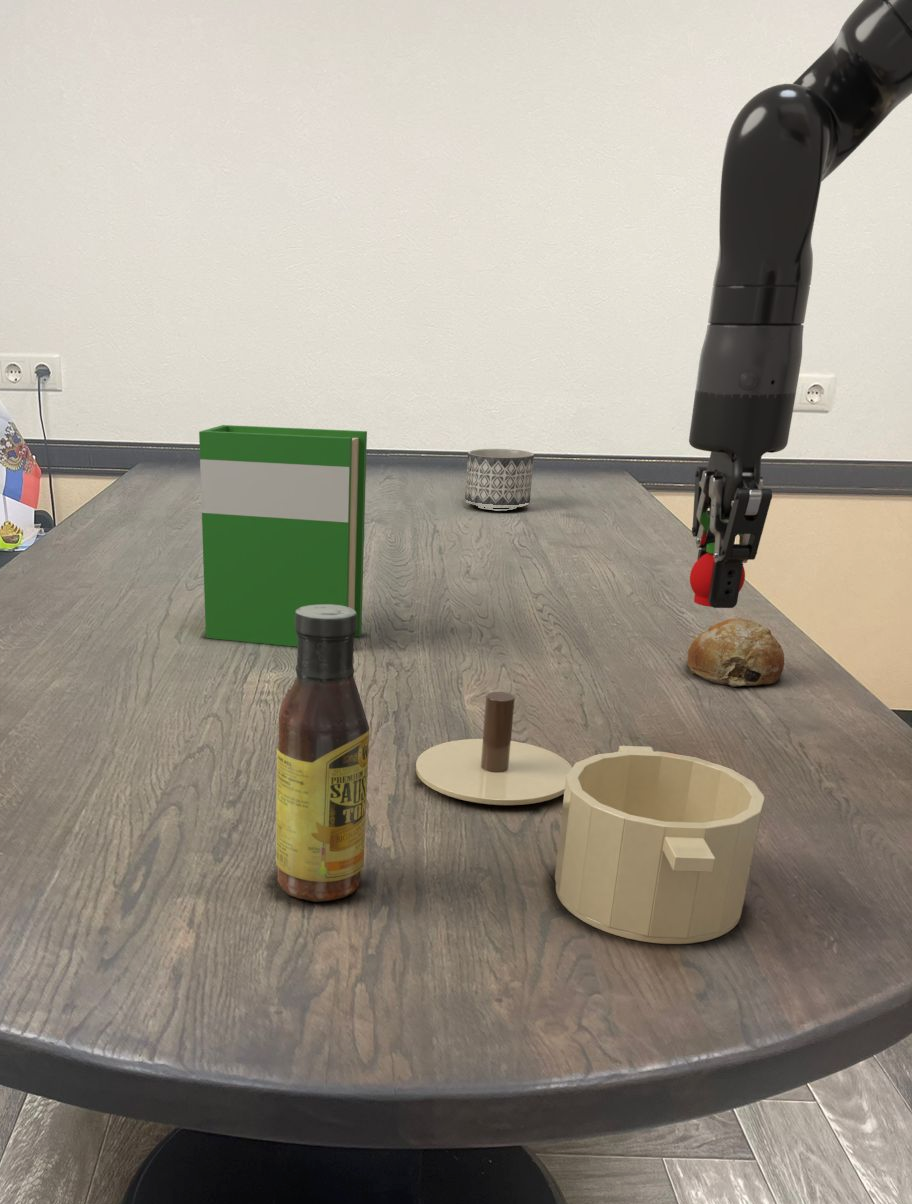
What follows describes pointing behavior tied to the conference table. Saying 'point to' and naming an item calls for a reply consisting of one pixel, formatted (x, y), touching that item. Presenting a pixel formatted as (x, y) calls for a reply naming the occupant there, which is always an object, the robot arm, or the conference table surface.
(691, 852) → the pot
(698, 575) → the tomato
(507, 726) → the lid
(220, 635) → the hardback book
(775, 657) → the bread roll
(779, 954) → the conference table surface
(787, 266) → the robot arm
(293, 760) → the sauce bottle
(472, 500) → the planter
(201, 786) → the conference table surface
